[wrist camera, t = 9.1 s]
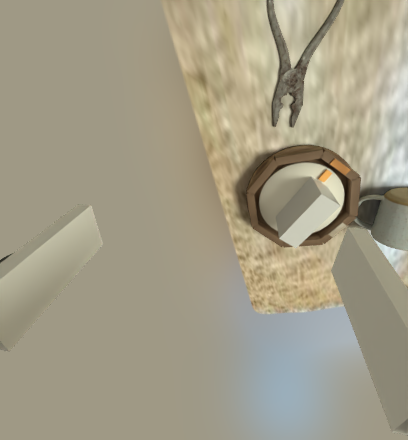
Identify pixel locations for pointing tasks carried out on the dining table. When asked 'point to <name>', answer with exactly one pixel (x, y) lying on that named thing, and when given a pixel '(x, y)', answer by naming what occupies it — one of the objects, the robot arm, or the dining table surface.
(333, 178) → the dial
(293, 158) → the dial housing
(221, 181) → the dining table surface
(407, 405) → the robot arm
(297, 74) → the pliers
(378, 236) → the ceramic mug
